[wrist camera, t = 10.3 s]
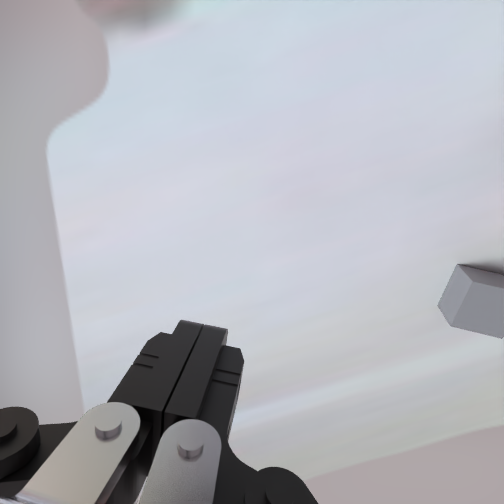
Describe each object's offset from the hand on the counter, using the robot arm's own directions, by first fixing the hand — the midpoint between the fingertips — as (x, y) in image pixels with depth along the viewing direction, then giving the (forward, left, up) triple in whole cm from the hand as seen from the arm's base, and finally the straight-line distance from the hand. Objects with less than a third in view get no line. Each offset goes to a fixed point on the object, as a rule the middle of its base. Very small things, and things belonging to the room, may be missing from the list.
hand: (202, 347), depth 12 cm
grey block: (+8, +22, -27) cm, 36 cm away
